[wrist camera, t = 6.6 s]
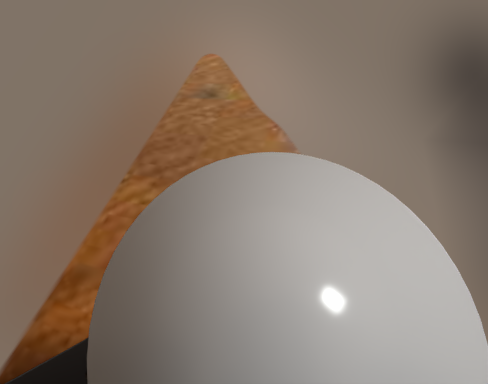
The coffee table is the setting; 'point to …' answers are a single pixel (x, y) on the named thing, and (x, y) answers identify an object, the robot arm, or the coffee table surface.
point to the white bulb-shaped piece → (282, 285)
